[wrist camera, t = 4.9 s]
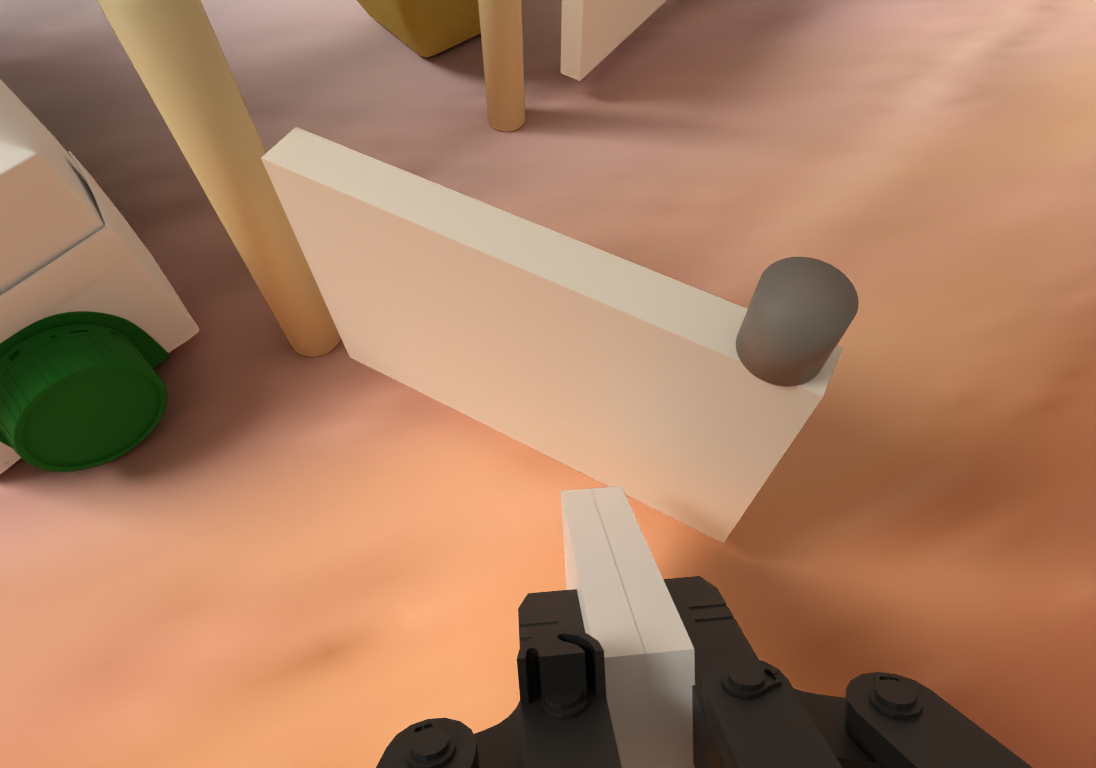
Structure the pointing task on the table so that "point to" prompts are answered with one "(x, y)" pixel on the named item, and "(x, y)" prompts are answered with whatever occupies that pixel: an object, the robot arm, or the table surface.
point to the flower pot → (427, 22)
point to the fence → (236, 149)
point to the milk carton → (74, 310)
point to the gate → (565, 333)
